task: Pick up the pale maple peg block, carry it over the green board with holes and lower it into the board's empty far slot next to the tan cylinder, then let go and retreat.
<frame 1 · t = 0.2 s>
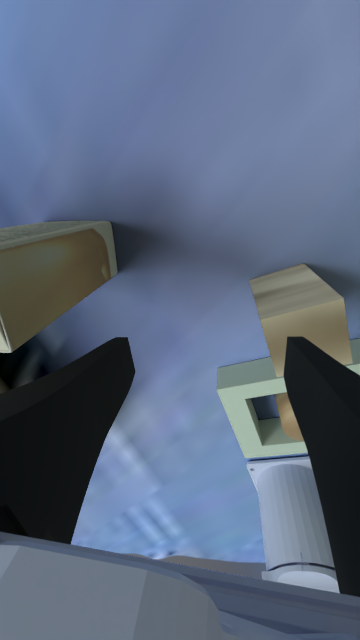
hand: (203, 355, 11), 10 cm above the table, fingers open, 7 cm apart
tan cylinder: (292, 391, 23), resting in green board with holes
maple peg: (281, 295, 19), on the table
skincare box: (83, 247, 21), on the table
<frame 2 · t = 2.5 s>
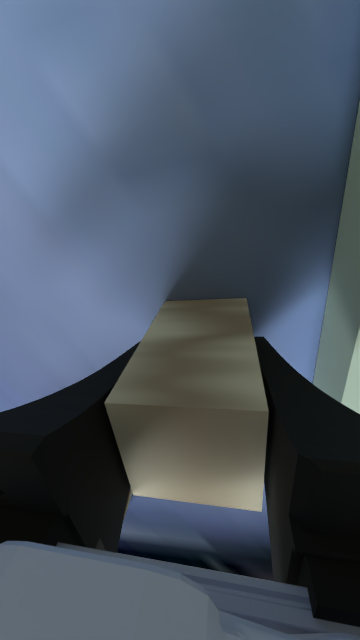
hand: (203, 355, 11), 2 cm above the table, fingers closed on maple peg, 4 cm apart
maple peg: (206, 334, 13), on the table, touching gripper
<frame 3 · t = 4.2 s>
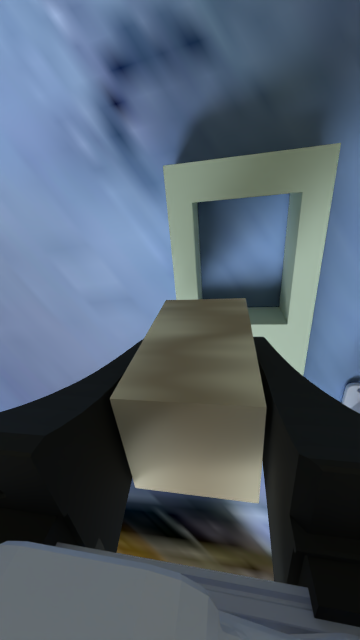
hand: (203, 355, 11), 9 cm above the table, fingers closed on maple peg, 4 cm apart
green board with holes: (239, 329, 21), on the table
maple peg: (206, 333, 13), point 7 cm above the table, touching gripper
when the fingers open (4 cm above the table, at t = 5.9 s): maple peg drops 2 cm, resting in green board with holes.
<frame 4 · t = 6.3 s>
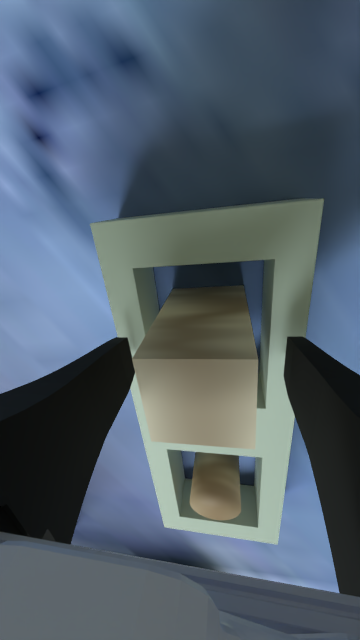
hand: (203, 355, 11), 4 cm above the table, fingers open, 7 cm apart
tan cylinder: (216, 451, 20), resting in green board with holes
green board with holes: (213, 395, 17), on the table
maple peg: (209, 318, 15), resting in green board with holes
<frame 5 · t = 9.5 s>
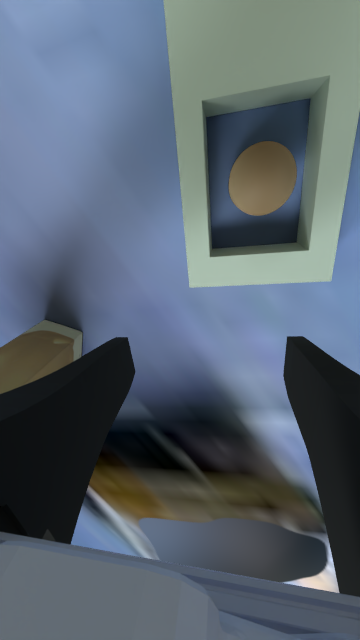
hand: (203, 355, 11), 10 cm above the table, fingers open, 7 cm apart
tan cylinder: (254, 184, 16), resting in green board with holes
green board with holes: (257, 63, 14), on the table
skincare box: (64, 346, 26), on the table
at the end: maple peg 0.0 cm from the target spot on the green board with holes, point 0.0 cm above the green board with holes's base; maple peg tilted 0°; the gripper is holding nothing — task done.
